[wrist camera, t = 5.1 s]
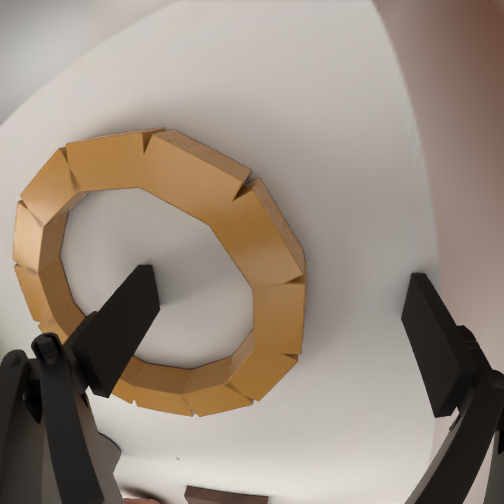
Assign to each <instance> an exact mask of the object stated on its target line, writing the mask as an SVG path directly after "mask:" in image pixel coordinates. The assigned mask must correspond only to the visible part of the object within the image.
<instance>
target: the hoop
mask: <svg viewBox="0 0 504 504" xmlns="http://www.w3.org/2000/svg"><path fill="white" fill-rule="evenodd" d="M250 173H251V169H249V168H247V167H245V166H243V165H241V164H240V163H238V162H236V161H234V160H232V159H230V158H228V157H226V156H225V155H223V154H221V153H219V152H217V151H215V150H213V149H211V148H209V147H207V146H205V145H203V144H201V143H199V142H198V141H196V140H194V139H192V138H190V137H188V136H186V135H184V134H182V133H180V132H178V131H176V130H168V131H164V128H154V129H145V130H137V131H130V132H123V133H116V134H109V135H103V136H97V137H92V138H88V139H84V140H80V141H76V142H72V143H68V144H66V147H62V148H59V149H58V150H57V151H56V152H55V153H54V155H53V156H52V157H51V158H50V159H49V160H48V161H47V163H46V164H45V165H44V166H43V167H42V169H41V170H40V171H39V172H38V173H37V175H36V176H35V177H34V178H33V180H32V181H31V182H30V183H29V185H28V186H27V187H26V188H25V190H24V191H23V192H22V194H21V195H20V196H21V198H22V200H20V201H18V204H17V212H16V221H15V231H14V244H13V260H14V261H15V262H17V264H16V265H14V269H15V272H16V275H17V277H18V280H19V283H20V286H21V289H22V292H23V294H24V297H25V300H26V302H27V305H28V307H29V310H30V312H31V315H32V317H33V320H34V321H39V322H41V323H40V324H39V325H38V327H39V329H40V330H41V331H42V332H43V333H48V332H52V333H56V334H57V335H58V337H59V339H60V341H61V343H62V345H63V344H64V342H65V341H66V340H67V339H68V337H69V336H70V335H71V334H72V332H73V331H75V329H76V328H77V326H78V325H80V323H81V322H82V321H83V319H84V318H85V316H84V315H83V313H82V312H81V311H80V310H79V308H78V307H77V306H76V305H75V303H74V302H73V299H72V296H71V293H70V290H69V287H68V284H67V281H66V277H65V274H64V270H63V267H62V263H61V260H60V251H61V246H62V240H63V235H64V230H65V225H66V221H67V216H68V212H69V211H70V210H71V209H72V208H73V207H74V206H75V205H76V204H77V203H78V202H80V201H81V200H82V199H83V198H84V197H85V196H86V195H87V194H88V193H89V192H90V191H96V190H111V189H126V188H141V189H143V190H145V191H147V192H149V193H151V194H152V195H154V196H156V197H158V198H160V199H162V200H163V201H165V202H167V203H169V204H171V205H173V206H174V207H176V208H178V209H180V210H182V211H184V212H185V213H187V214H189V215H191V216H193V217H195V218H196V219H198V220H200V221H202V222H204V223H206V224H207V225H209V226H210V227H211V229H212V230H213V232H214V233H215V235H216V236H217V238H218V239H219V241H220V242H221V244H222V245H223V247H224V248H225V250H226V251H227V253H228V254H229V255H230V257H231V258H232V260H233V261H234V263H235V264H236V266H237V267H238V269H239V270H240V272H241V273H242V275H243V276H244V277H245V279H246V280H247V282H248V283H249V285H250V286H251V288H252V289H253V317H254V328H253V329H252V331H251V332H250V333H249V335H248V336H247V338H246V339H245V340H244V342H243V343H242V344H241V346H240V347H239V348H238V350H237V351H236V352H235V354H234V355H233V356H231V357H228V358H225V359H222V360H219V361H216V362H213V363H211V364H207V365H204V366H201V367H198V368H195V369H192V370H189V369H181V368H174V367H167V366H160V365H154V364H148V363H145V362H143V361H141V360H139V359H137V358H136V357H134V356H132V358H131V359H130V361H129V363H128V365H127V366H126V368H125V370H124V372H123V373H122V375H121V377H120V378H119V380H118V382H117V384H116V385H115V387H114V389H113V391H112V394H114V395H115V396H117V397H119V398H121V399H123V400H124V401H126V402H128V403H130V404H132V402H133V400H134V399H135V402H136V404H137V406H138V407H143V408H147V409H152V410H157V411H162V412H168V413H173V414H179V415H185V416H191V417H193V415H194V412H195V413H196V414H197V415H198V416H199V417H202V416H206V415H211V414H216V413H220V412H224V411H229V410H233V409H237V408H241V407H245V406H249V405H252V404H253V401H254V400H256V401H260V400H261V399H262V398H263V397H264V396H265V395H266V394H267V393H268V392H269V391H270V390H271V389H272V388H273V387H274V386H275V385H276V384H277V383H278V382H279V381H280V380H281V379H282V378H283V377H284V375H285V374H286V373H287V372H288V371H289V370H290V369H291V368H292V367H293V366H294V365H295V364H296V363H297V362H298V354H301V353H302V341H303V329H304V315H305V301H306V285H307V284H306V261H305V260H304V256H303V249H302V247H301V246H300V244H299V242H298V241H297V239H296V237H295V236H294V234H293V232H292V230H291V229H290V227H289V225H288V224H287V222H286V220H285V219H284V217H283V215H282V214H281V212H280V210H279V209H278V207H277V205H276V204H275V202H274V200H273V199H272V197H271V195H270V194H269V192H268V191H267V189H266V187H265V186H264V184H263V182H262V181H261V179H260V178H257V179H255V180H253V181H252V182H250V183H248V184H246V185H245V186H243V185H244V184H245V182H246V180H247V178H248V176H249V175H250Z"/></svg>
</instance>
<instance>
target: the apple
mask: <svg viewBox="0 0 504 504" xmlns="http://www.w3.org/2000/svg"><path fill="white" fill-rule="evenodd" d="M123 500H124V502H125V504H160V503H159V502H158V501H156V500H154V499H130V498H124V499H123Z"/></svg>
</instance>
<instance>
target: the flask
mask: <svg viewBox="0 0 504 504" xmlns="http://www.w3.org/2000/svg"><path fill="white" fill-rule="evenodd" d="M98 434H99V433H98ZM99 437H100V440H101V443H102V446H103V449H104V451H105V454H106V457H107V460H108V463H109V465H110V468H111V471H112V473H113V472H114V469H115V467H116V465H117V463H118V460H119V458H120V456H121V452H120V450H119V448H118V447H117V446H116V445H115V444H114V443H113V442H112V441H111V440H110V439H108V438H106V437H105V436H103V435H101V434H99ZM42 504H62V502H61V498H60V495H59V491H58V487H57V483H56V479H55V475H54V470H53V466H52V461H51V456H50V451H49V446H48V440H47V434H46V432H45V443H44V455H43V473H42Z"/></svg>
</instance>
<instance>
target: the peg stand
mask: <svg viewBox="0 0 504 504" xmlns="http://www.w3.org/2000/svg"><path fill="white" fill-rule="evenodd" d="M184 497H185V499H186V500H187V502H188V504H268V497H264V496H253V495H243V494H234V493H227V492H220V491H213V490H207V489H201V488H196V487H191V486H187V488H186V491H185V495H184Z"/></svg>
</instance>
